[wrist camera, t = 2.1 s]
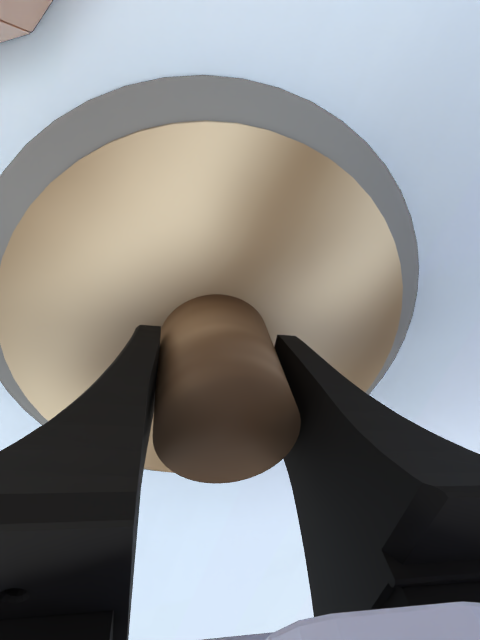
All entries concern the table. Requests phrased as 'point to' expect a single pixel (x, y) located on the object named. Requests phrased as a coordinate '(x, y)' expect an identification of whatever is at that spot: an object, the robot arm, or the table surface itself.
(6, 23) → the bowl
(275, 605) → the table surface
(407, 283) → the mat
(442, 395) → the table surface
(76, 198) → the lid
